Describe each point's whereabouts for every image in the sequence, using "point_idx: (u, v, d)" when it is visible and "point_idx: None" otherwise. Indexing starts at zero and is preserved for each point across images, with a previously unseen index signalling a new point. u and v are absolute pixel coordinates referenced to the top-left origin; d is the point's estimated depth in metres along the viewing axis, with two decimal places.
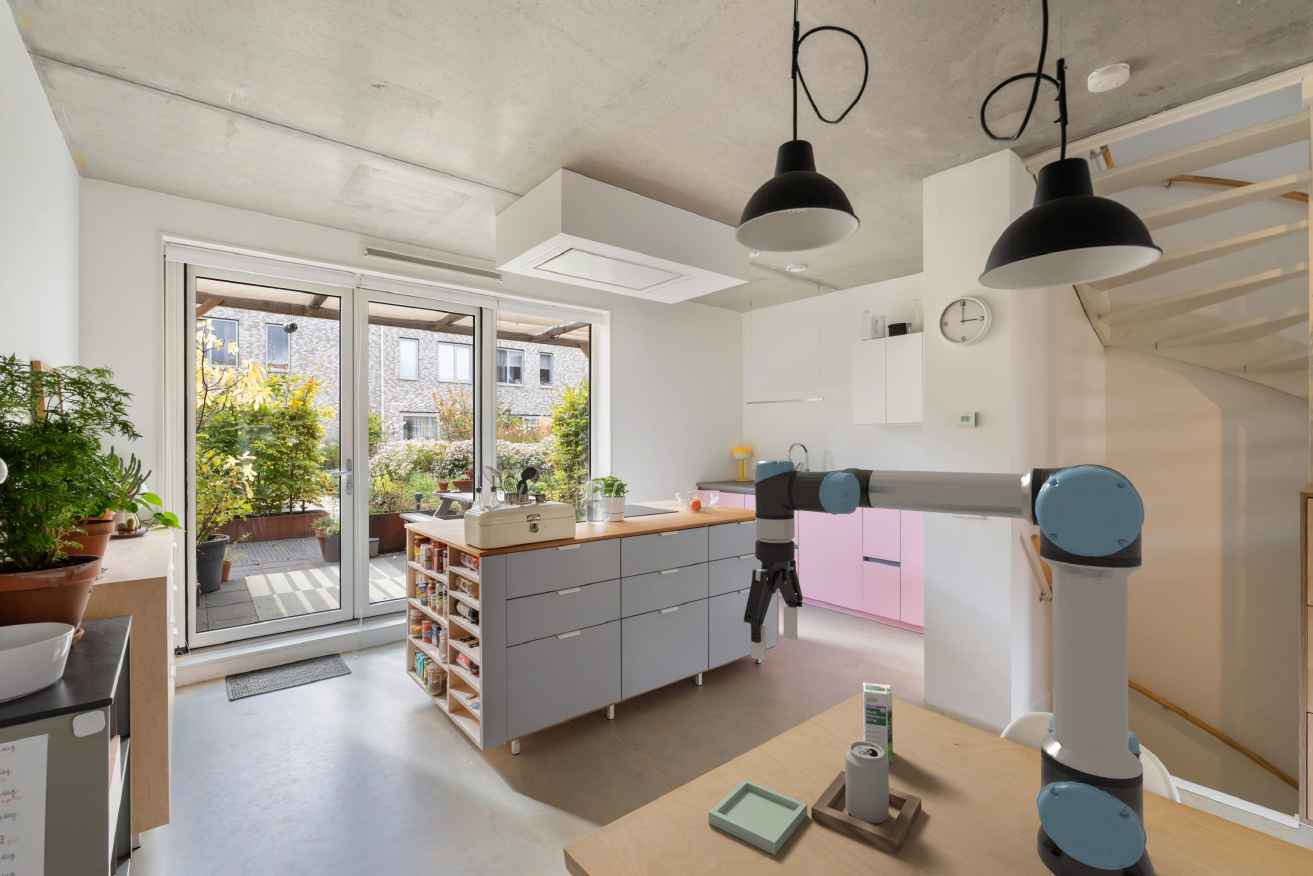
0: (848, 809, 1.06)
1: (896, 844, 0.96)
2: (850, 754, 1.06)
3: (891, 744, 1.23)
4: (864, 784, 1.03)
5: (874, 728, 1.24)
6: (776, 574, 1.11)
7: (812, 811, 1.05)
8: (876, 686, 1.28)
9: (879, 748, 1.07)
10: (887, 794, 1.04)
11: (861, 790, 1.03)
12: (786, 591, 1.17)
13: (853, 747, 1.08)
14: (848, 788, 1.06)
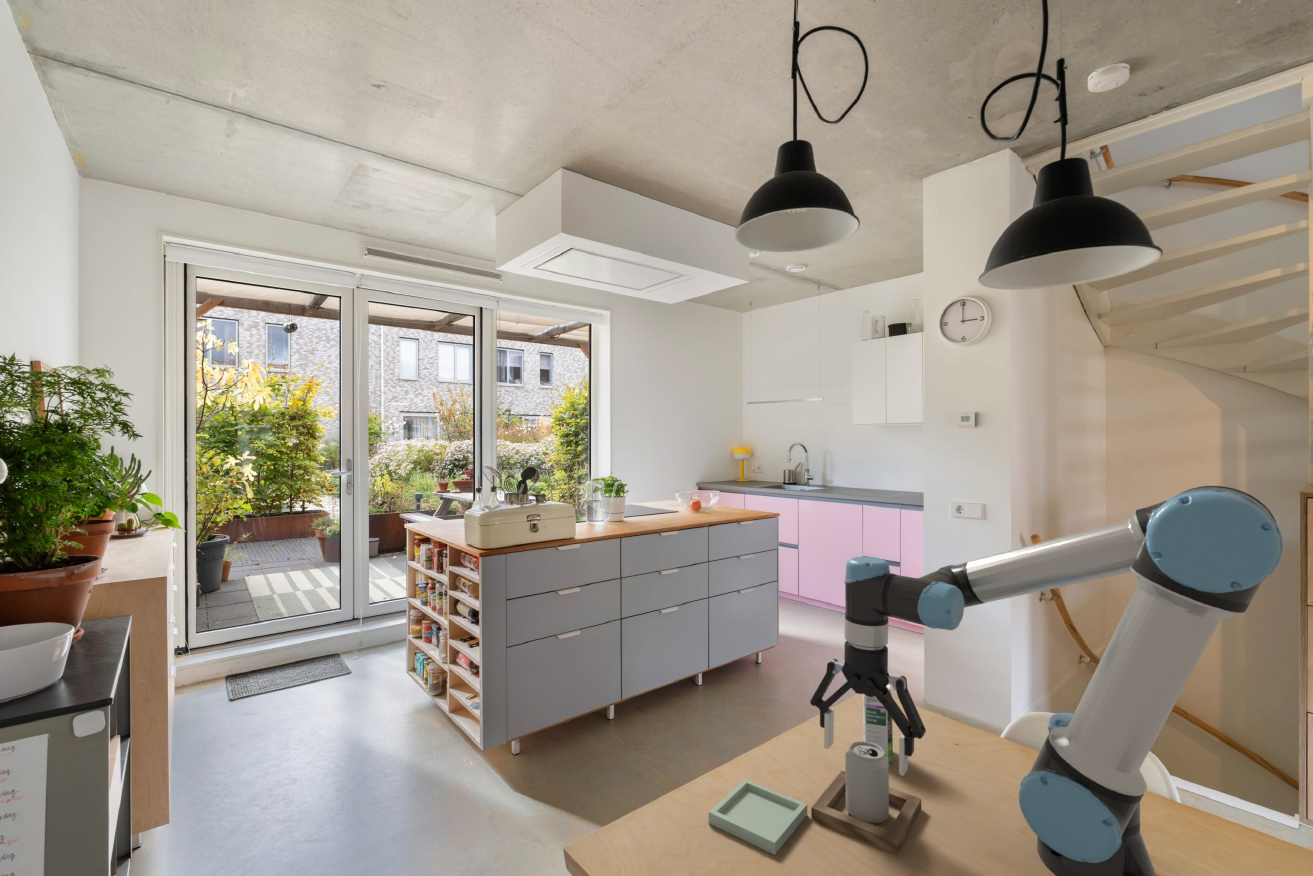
0: (848, 809, 1.06)
1: (896, 844, 0.96)
2: (850, 754, 1.06)
3: (891, 744, 1.23)
4: (864, 784, 1.03)
5: (874, 728, 1.24)
6: (852, 676, 1.07)
7: (812, 811, 1.05)
8: None
9: (879, 748, 1.07)
10: (887, 794, 1.04)
11: (861, 790, 1.04)
12: None
13: (853, 747, 1.08)
14: (848, 788, 1.06)
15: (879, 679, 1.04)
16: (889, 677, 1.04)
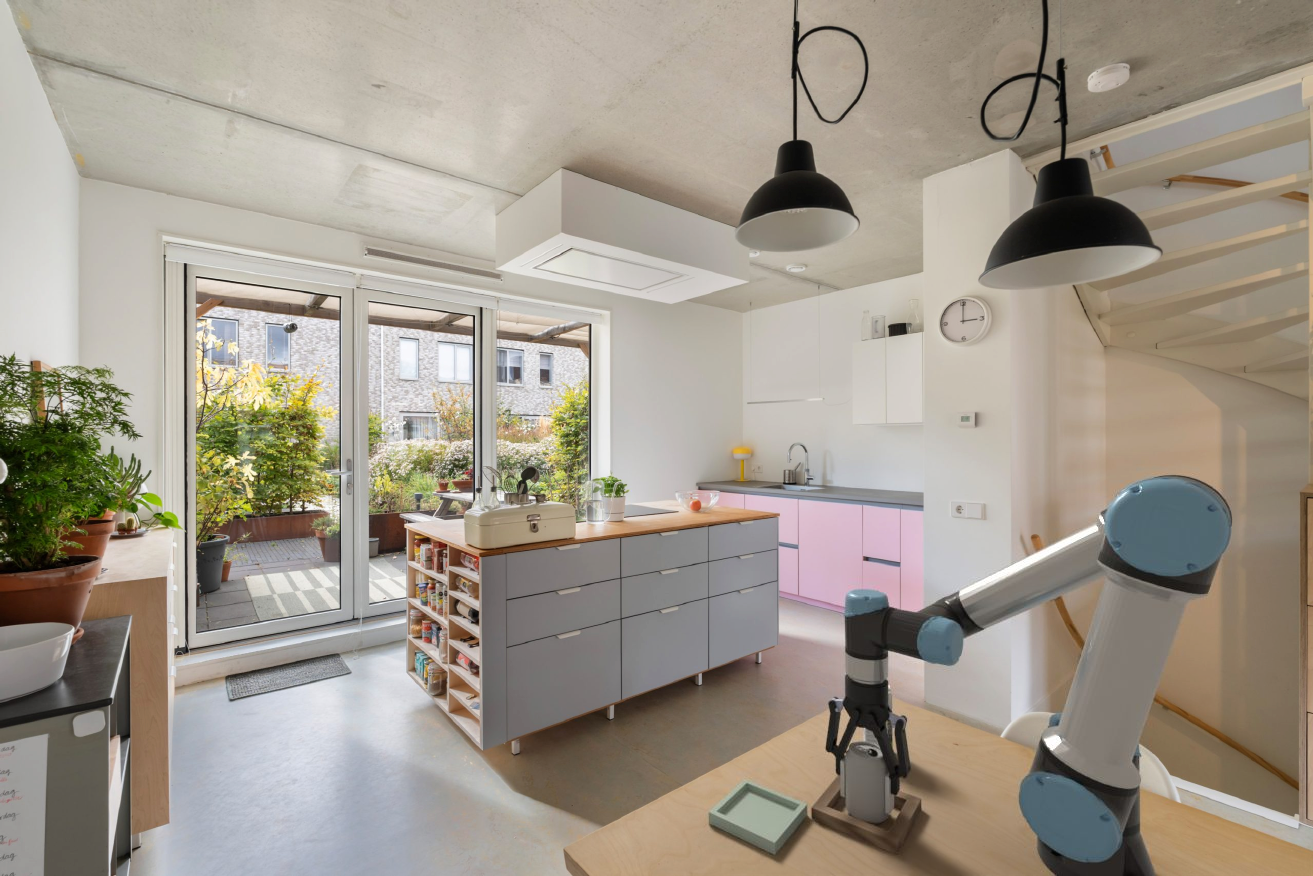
0: (848, 809, 1.06)
1: (896, 844, 0.96)
2: (850, 754, 1.06)
3: (891, 744, 1.23)
4: (864, 784, 1.03)
5: None
6: None
7: (812, 811, 1.05)
8: None
9: (879, 748, 1.07)
10: None
11: (861, 790, 1.03)
12: None
13: (853, 747, 1.08)
14: (848, 788, 1.06)
15: (880, 713, 1.04)
16: (891, 714, 1.04)
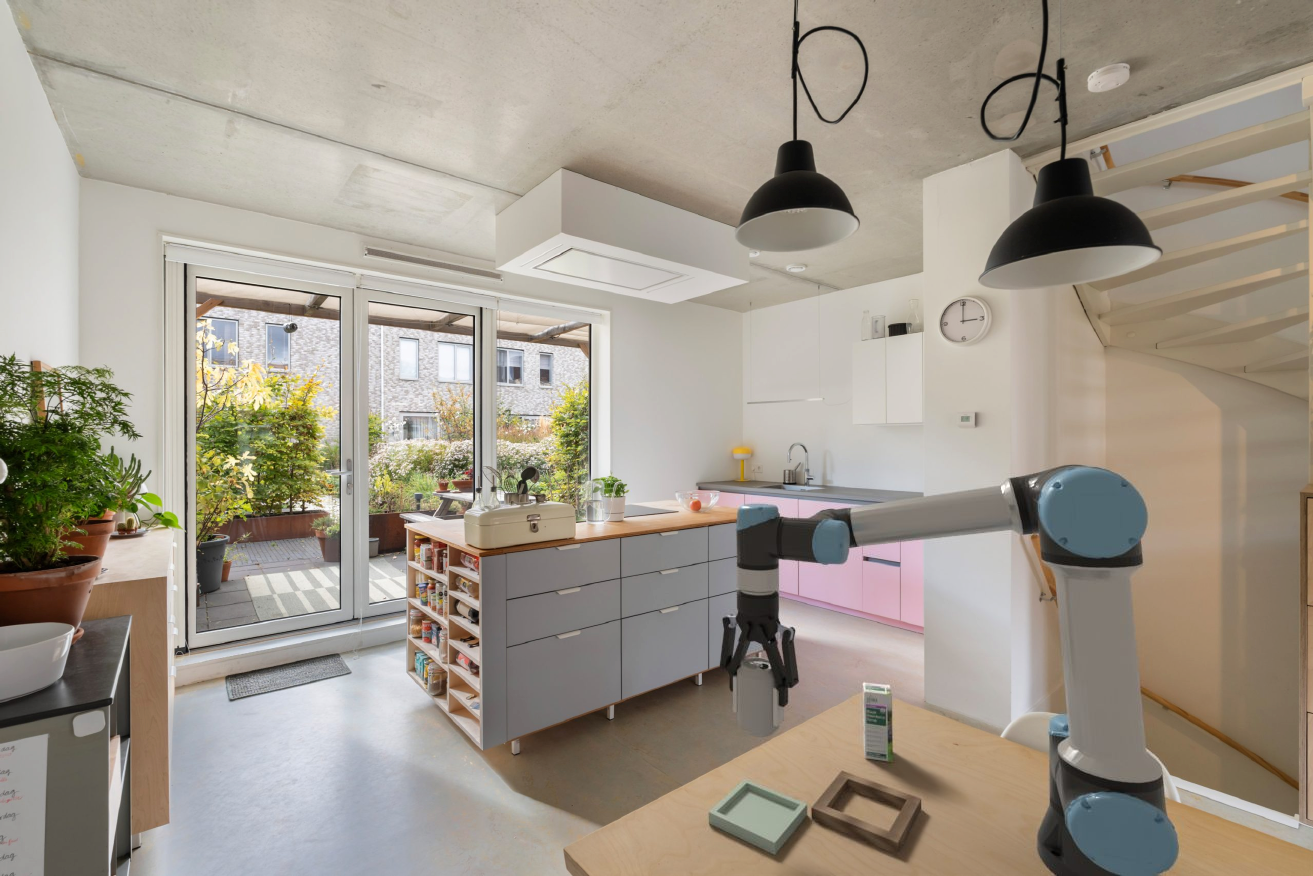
0: (738, 723, 1.05)
1: (896, 844, 0.96)
2: (741, 667, 1.05)
3: (891, 744, 1.23)
4: (752, 696, 1.02)
5: (874, 728, 1.24)
6: None
7: (812, 811, 1.05)
8: (876, 686, 1.28)
9: None
10: None
11: (749, 702, 1.02)
12: None
13: (746, 662, 1.07)
14: (738, 702, 1.05)
15: (769, 625, 1.03)
16: (779, 625, 1.03)
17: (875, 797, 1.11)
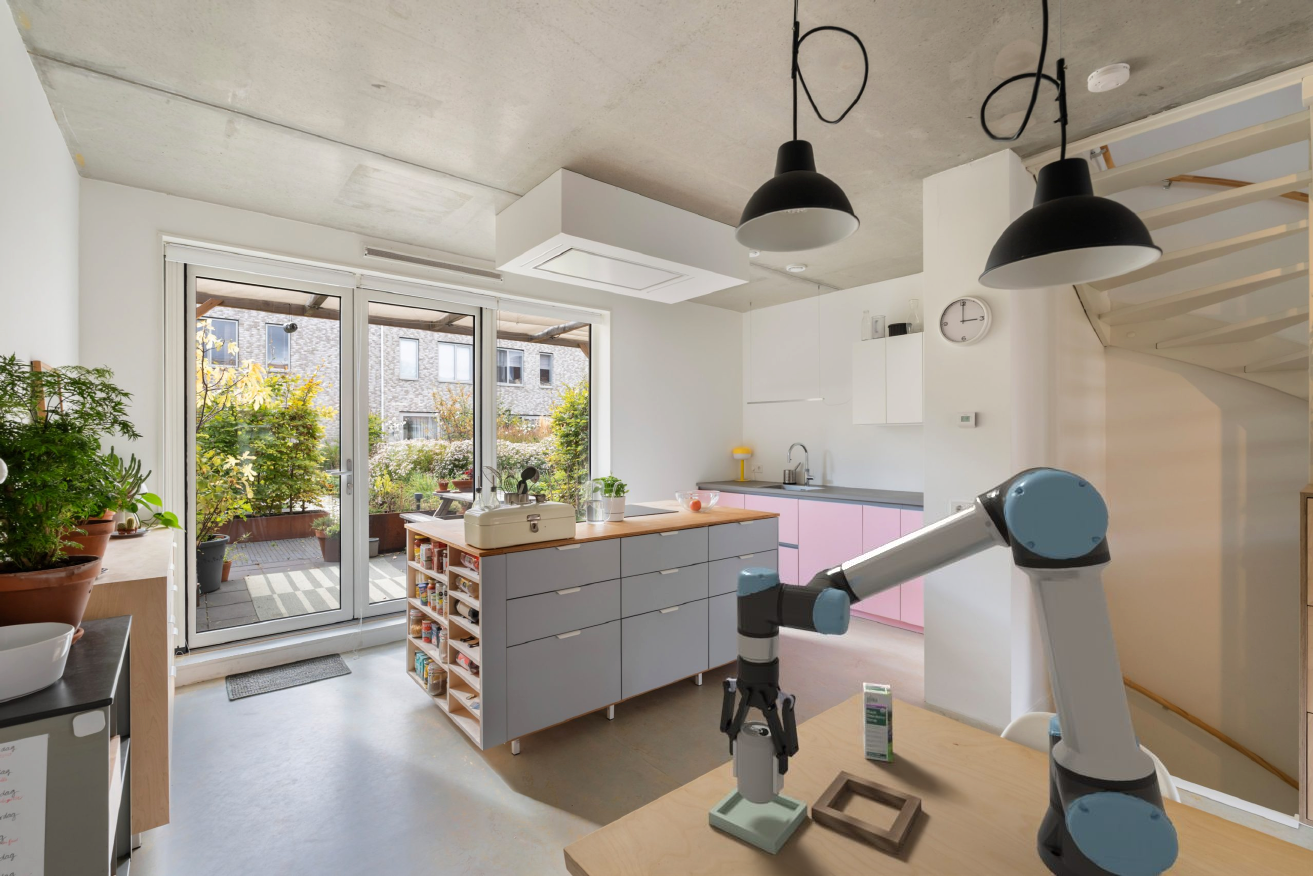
0: (738, 789, 1.05)
1: (896, 844, 0.96)
2: (741, 733, 1.05)
3: (891, 744, 1.23)
4: (752, 763, 1.02)
5: (874, 728, 1.24)
6: None
7: (812, 811, 1.05)
8: (877, 686, 1.28)
9: None
10: None
11: (749, 769, 1.02)
12: None
13: (746, 726, 1.07)
14: (738, 767, 1.05)
15: (769, 692, 1.03)
16: (779, 692, 1.03)
17: (875, 797, 1.11)
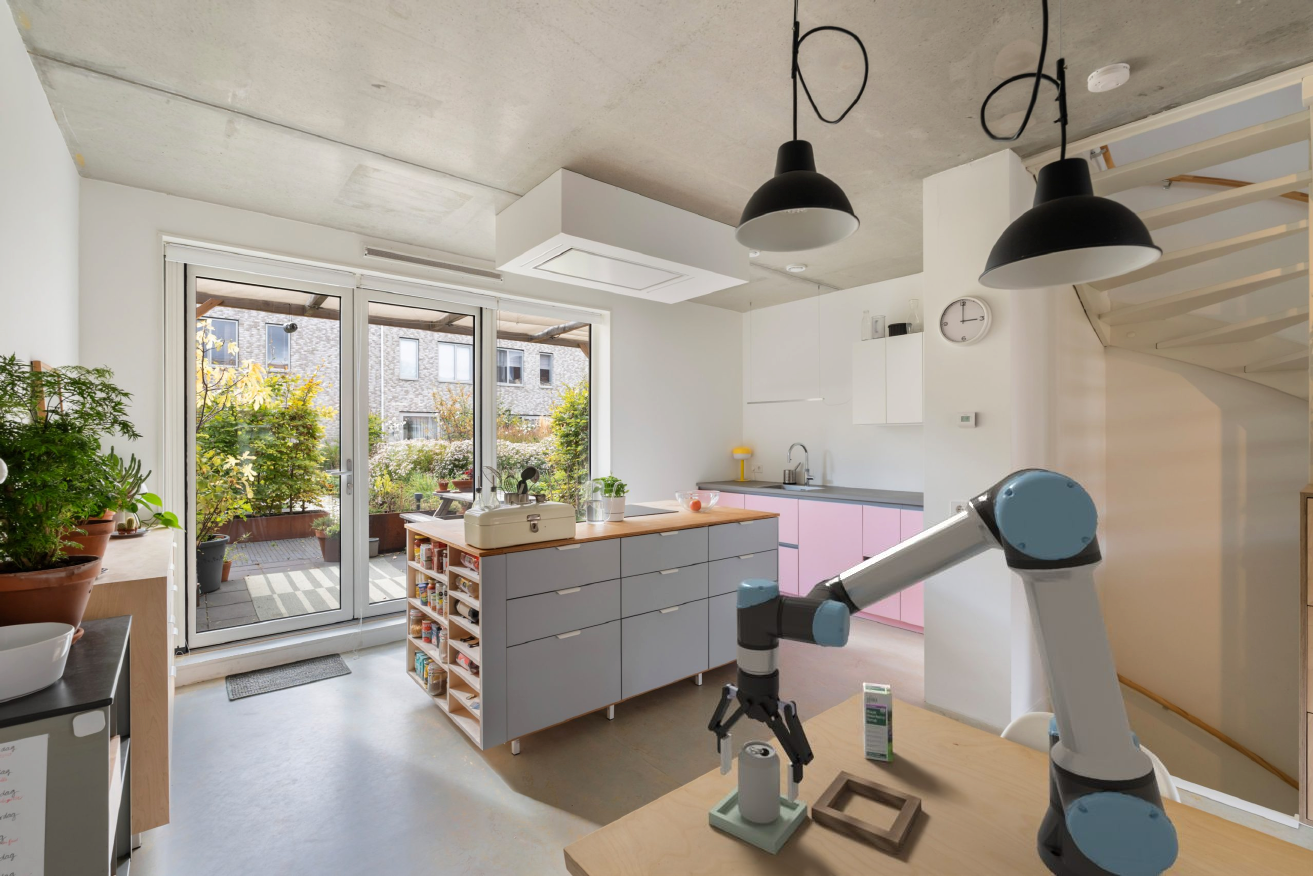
0: (739, 809, 1.04)
1: (896, 844, 0.96)
2: (742, 753, 1.05)
3: (891, 744, 1.23)
4: (753, 784, 1.02)
5: (874, 728, 1.24)
6: None
7: (812, 811, 1.05)
8: (876, 686, 1.28)
9: (772, 747, 1.06)
10: (777, 794, 1.03)
11: (750, 790, 1.02)
12: None
13: (746, 747, 1.07)
14: (739, 788, 1.05)
15: (769, 704, 1.03)
16: (779, 702, 1.03)
17: (875, 797, 1.11)
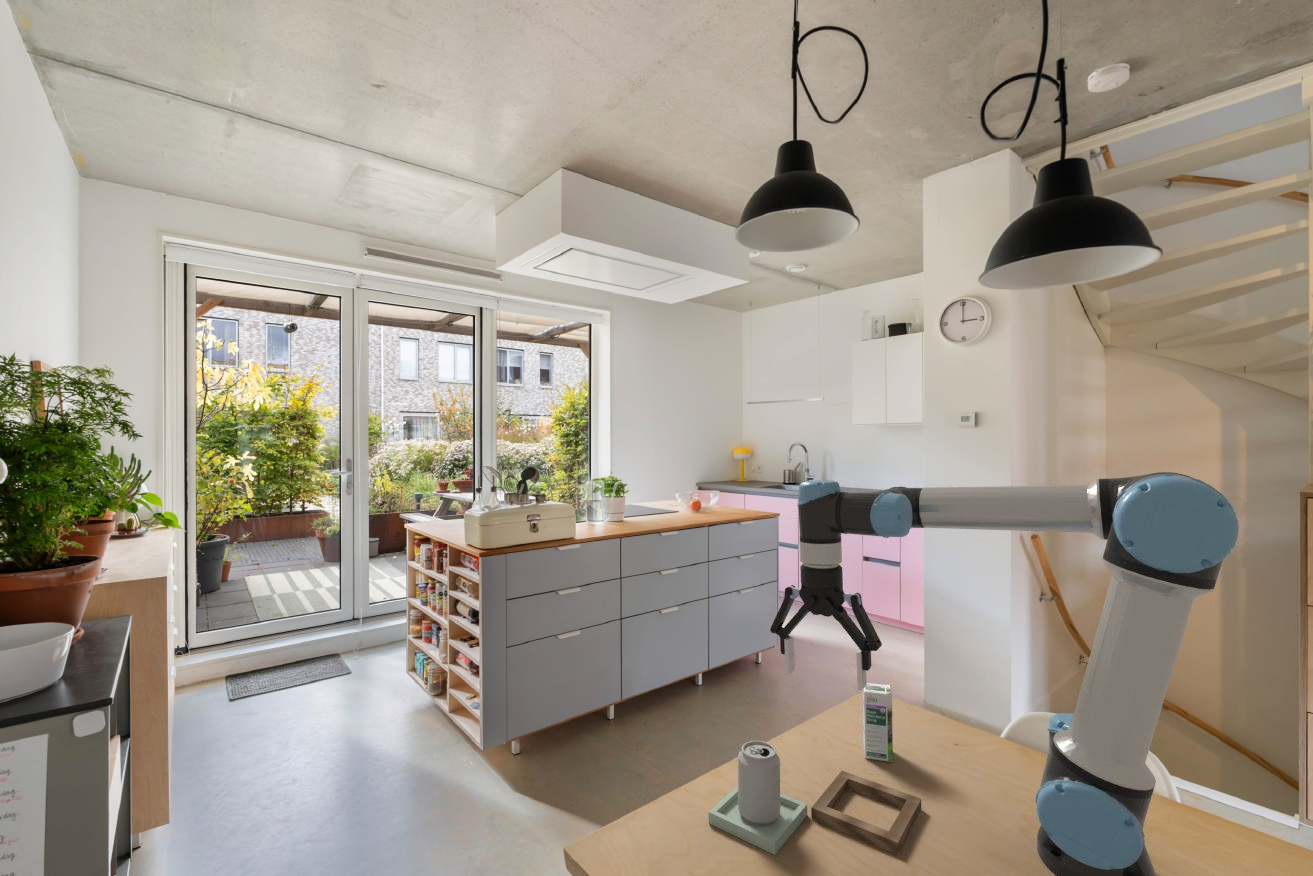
0: (739, 809, 1.04)
1: (896, 844, 0.96)
2: (742, 753, 1.05)
3: (891, 744, 1.23)
4: (753, 784, 1.02)
5: (874, 728, 1.24)
6: None
7: (812, 811, 1.05)
8: (876, 686, 1.28)
9: (772, 748, 1.06)
10: (777, 794, 1.03)
11: (750, 790, 1.02)
12: None
13: (746, 747, 1.07)
14: (739, 788, 1.05)
15: (835, 597, 1.05)
16: (844, 595, 1.05)
17: (875, 797, 1.11)
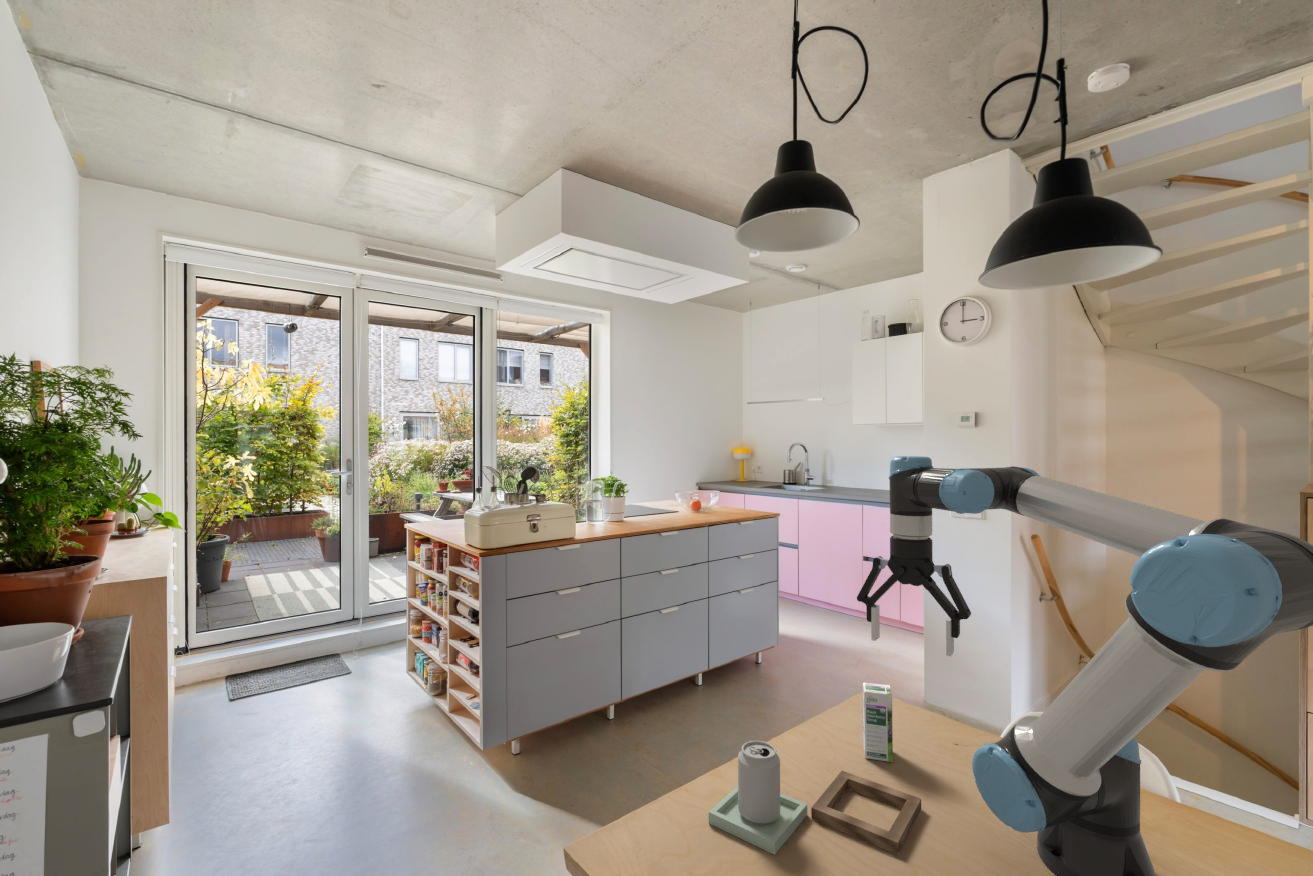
0: (739, 809, 1.04)
1: (896, 844, 0.96)
2: (742, 753, 1.05)
3: (891, 744, 1.23)
4: (753, 784, 1.02)
5: (874, 728, 1.24)
6: (898, 568, 1.13)
7: (812, 811, 1.05)
8: (876, 686, 1.28)
9: (772, 748, 1.06)
10: (777, 794, 1.03)
11: (750, 790, 1.02)
12: None
13: (746, 747, 1.07)
14: (739, 788, 1.05)
15: (925, 568, 1.10)
16: (934, 565, 1.10)
17: (875, 797, 1.11)
